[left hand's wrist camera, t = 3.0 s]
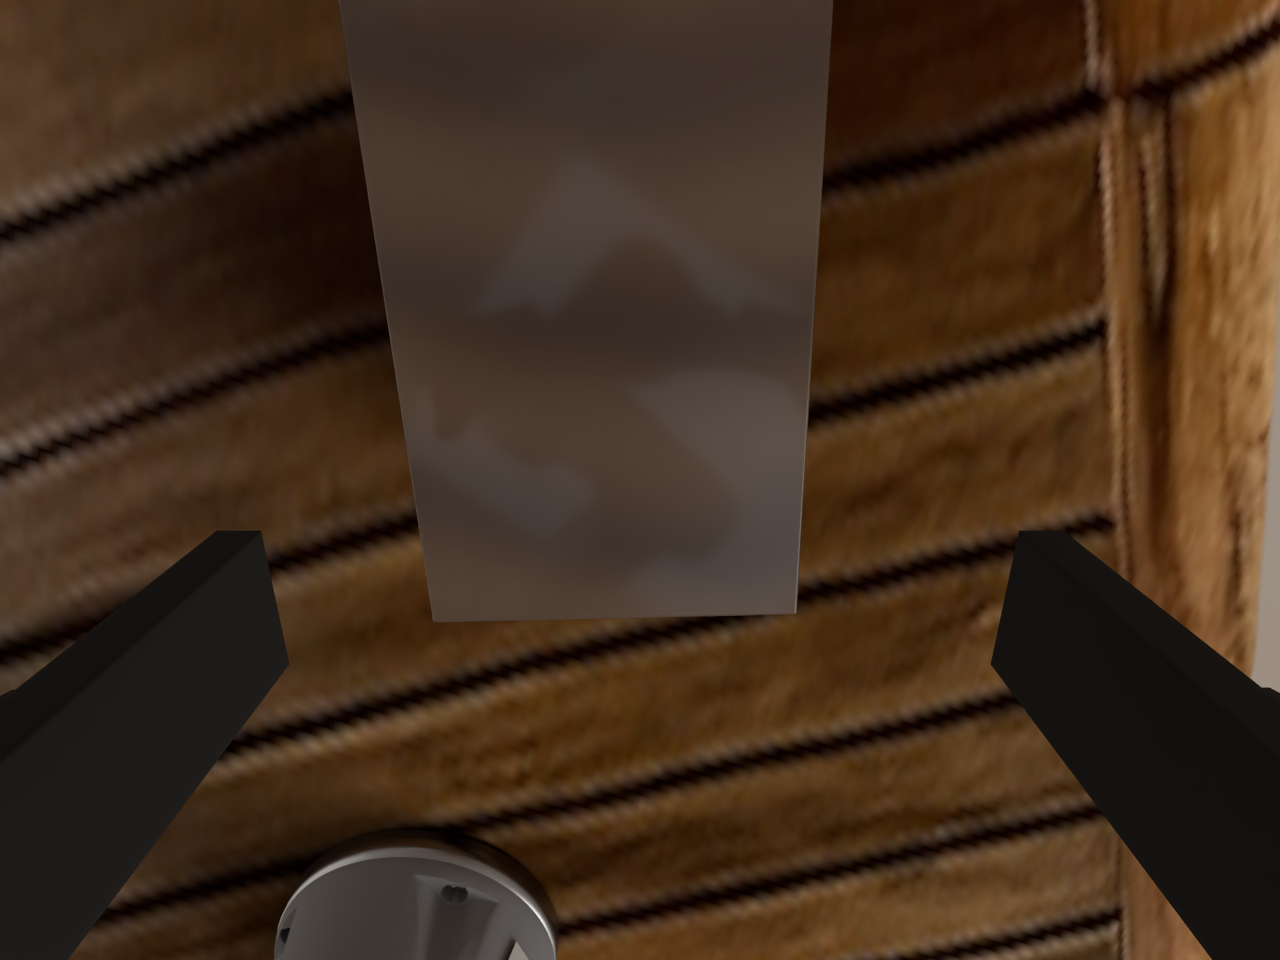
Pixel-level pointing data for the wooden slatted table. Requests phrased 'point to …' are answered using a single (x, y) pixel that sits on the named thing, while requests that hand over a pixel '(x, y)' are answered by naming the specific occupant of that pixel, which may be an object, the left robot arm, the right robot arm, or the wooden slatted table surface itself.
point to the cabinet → (598, 293)
